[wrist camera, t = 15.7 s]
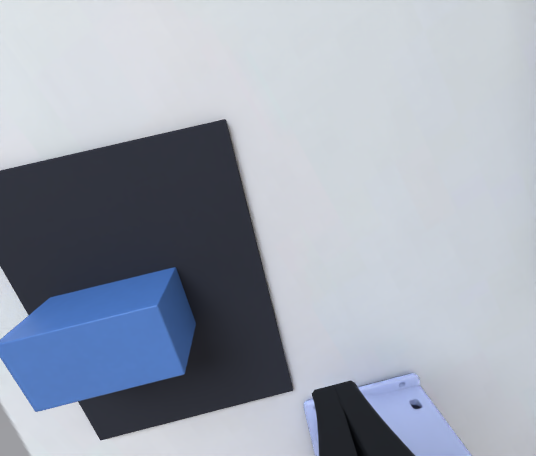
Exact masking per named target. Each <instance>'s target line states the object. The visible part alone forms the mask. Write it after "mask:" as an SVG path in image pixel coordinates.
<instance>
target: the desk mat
mask: <svg viewBox="0 0 536 456" xmlns="http://www.w3.org/2000/svg"><path fill="white" fill-rule="evenodd" d="M0 266H1V268H2V270H3V271H4V273H5V275H6V277H7V278H8V280H9V282H10V284H11V285H12V287H13V289H14V291H15V292H16V294H17V296H18V298H19V299H20V301H21V303H22V304H23V306H24V308H25V310H26V311H27V313H28V315H30V314H31V313H32V312H33V311H35V310H36V309H37V308H38V307H39V306H41V305H42V304H43V303H44V302H45V301H46V300H48V299H49V298H50V297H54V296H58V295H62V294H66V293H71V292H75V291H79V290H83V289H87V288H91V287H95V286H99V285H104V284H108V283H112V282H116V281H120V280H124V279H128V278H132V277H136V276H141V275H145V274H149V273H153V272H157V271H161V270H165V269H169V268H174V267H176V269H177V272H178V274H179V277H180V280H181V283H182V286H183V289H184V291H185V294H186V297H187V300H188V303H189V305H190V308H191V311H192V314H193V317H194V319H195V322H196V326H195V330H194V335H193V339H192V344H191V348H190V353H189V357H188V361H187V366H186V370H185V374H184V375H180V376H176V377H172V378H168V379H164V380H160V381H156V382H152V383H148V384H144V385H140V386H136V387H132V388H129V389H125V390H121V391H117V392H113V393H109V394H105V395H101V396H97V397H93V398H89V399H85V400H81V401H78V402H79V404H80V406H81V407H82V409H83V411H84V412H85V414H86V416H87V418H88V419H89V421H90V423H91V425H92V426H93V428H94V430H95V432H96V433H97V435H98V437H99V439H100V440H104V439H108V438H112V437H116V436H119V435H123V434H127V433H131V432H135V431H139V430H143V429H146V428H150V427H154V426H158V425H162V424H166V423H170V422H173V421H177V420H181V419H185V418H189V417H193V416H197V415H200V414H204V413H208V412H212V411H216V410H220V409H224V408H228V407H231V406H235V405H239V404H243V403H247V402H251V401H255V400H258V399H262V398H266V397H270V396H274V395H278V394H282V393H285V392H289V391H293V388H292V384H291V380H290V376H289V372H288V368H287V364H286V360H285V356H284V352H283V348H282V344H281V339H280V335H279V331H278V327H277V323H276V319H275V315H274V311H273V307H272V303H271V299H270V295H269V291H268V287H267V283H266V279H265V275H264V271H263V267H262V263H261V259H260V255H259V251H258V247H257V243H256V239H255V235H254V231H253V227H252V223H251V219H250V215H249V211H248V207H247V203H246V199H245V195H244V191H243V187H242V183H241V179H240V175H239V171H238V167H237V163H236V159H235V155H234V151H233V147H232V143H231V139H230V135H229V131H228V127H227V123H226V120H225V119H224V120H220V121H215V122H211V123H207V124H202V125H198V126H194V127H189V128H185V129H180V130H176V131H172V132H167V133H163V134H159V135H154V136H150V137H145V138H141V139H137V140H132V141H128V142H124V143H119V144H115V145H110V146H106V147H102V148H97V149H93V150H89V151H84V152H80V153H75V154H71V155H67V156H62V157H58V158H54V159H49V160H45V161H40V162H36V163H32V164H27V165H23V166H19V167H14V168H10V169H5V170H1V171H0Z"/></svg>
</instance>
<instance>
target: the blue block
mask: <svg viewBox="0 0 536 456" xmlns="http://www.w3.org/2000/svg"><path fill="white" fill-rule="evenodd" d="M195 326H196V322H195V319H194V317H193V314H192V311H191V308H190V305H189V303H188V300H187V297H186V294H185V291H184V289H183V286H182V283H181V280H180V277H179V274H178V272H177V269H176V267H174V268H169V269H165V270H161V271H157V272H153V273H149V274H145V275H141V276H136V277H132V278H128V279H124V280H120V281H116V282H112V283H108V284H104V285H99V286H95V287H91V288H87V289H83V290H79V291H75V292H71V293H66V294H62V295H58V296H54V297H50V298H49V299H48V300H46V301H45V302H44V303H43V304H42V305H41V306H39V307H38V308H37V309H36V310H35V311H33V312H32V313H31V314H30V315H29V316H28V317H26V318H25V319H24V320H23V321H22V322H21V323H19V324H18V325H17V326H16V327H15V328H13V329H12V330H11V331H10V332H9V333H8V334H6V335H5V336H4V337H3V338H2V339H0V358H1V359H2V361H3V362H4V364H5V365H6V367H7V369H8V370H9V372H10V373H11V375H12V376H13V378H14V379H15V381H16V382H17V384H18V386H19V387H20V389H21V390H22V392H23V393H24V395H25V396H26V398H27V399H28V401H29V403H30V404H31V406H32V407H33V409H34V410H35V411H36V412H38V411H42V410H46V409H50V408H54V407H58V406H62V405H66V404H70V403H73V402H77V401H81V400H85V399H89V398H93V397H97V396H101V395H105V394H109V393H113V392H117V391H121V390H125V389H129V388H132V387H136V386H140V385H144V384H148V383H152V382H156V381H160V380H164V379H168V378H172V377H176V376H180V375H184V374H185V370H186V366H187V361H188V357H189V353H190V348H191V344H192V339H193V335H194V330H195Z"/></svg>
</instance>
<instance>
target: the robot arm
mask: <svg viewBox="0 0 536 456" xmlns="http://www.w3.org/2000/svg"><path fill="white" fill-rule="evenodd" d="M312 396H313V399H311V400H308V401H306V402H305V403H304V410H305V414H306V419H307V423H308V427H309V431H310V435H311V440H312V444H313V448H314V452H315V456H472V455H471V454H470V452H469V451H468V450H467V448H466V447H465V445H464V444H463V443H462V441H461V440H460V439H459V437H458V436H457V435H456V433H455V432H454V431H453V429H452V428H451V427H450V425H449V424H448V422H447V421H446V420H445V418H444V417H443V416H442V414H441V413H440V412H439V410H438V409H437V408H436V406H435V405H434V404H433V402H432V401H431V399H430V398H429V397H428V395H427V394H426V393H425V391H424V390H423V389H422V387H421V386H420V379H419V377H418V376H417V374H415V373H411V374H407V375H403V376H399V377H395V378H392V379H388V380H384V381H380V382H376V383H372V384H369V385H365V386H361V387H357V386H356V384H355V383H354V382H353V381H347V382H343V383H340V384H336V385H332V386H328V387H324V388H320V389H316V390H314V392H313V393H312Z"/></svg>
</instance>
